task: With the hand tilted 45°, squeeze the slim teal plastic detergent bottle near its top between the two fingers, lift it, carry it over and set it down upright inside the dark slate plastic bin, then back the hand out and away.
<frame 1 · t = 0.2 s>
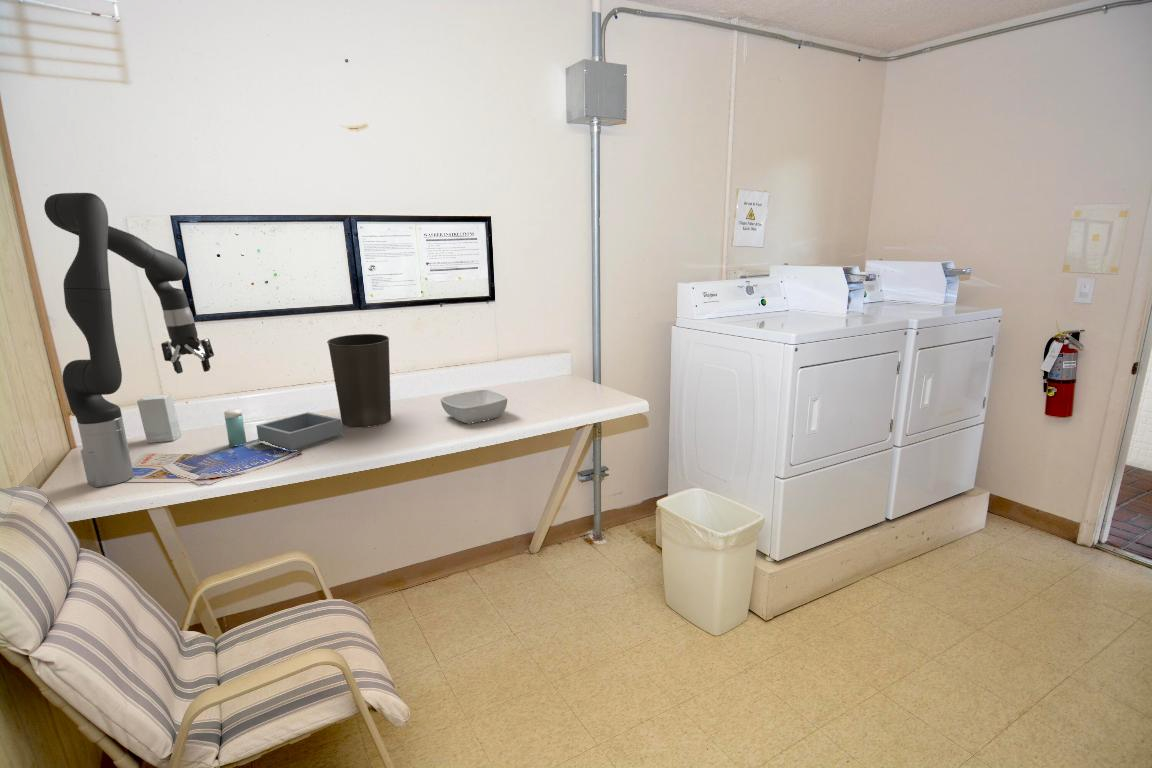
hand: (193, 372, 187), 23 cm above the table, tool pointing down, fingers open, 8 cm apart
skincare box: (163, 440, 191), on the table
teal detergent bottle: (238, 444, 185), on the table
slate bin: (301, 439, 189), on the table
square bowl: (474, 418, 211), on the table
waste basket: (367, 421, 209), on the table
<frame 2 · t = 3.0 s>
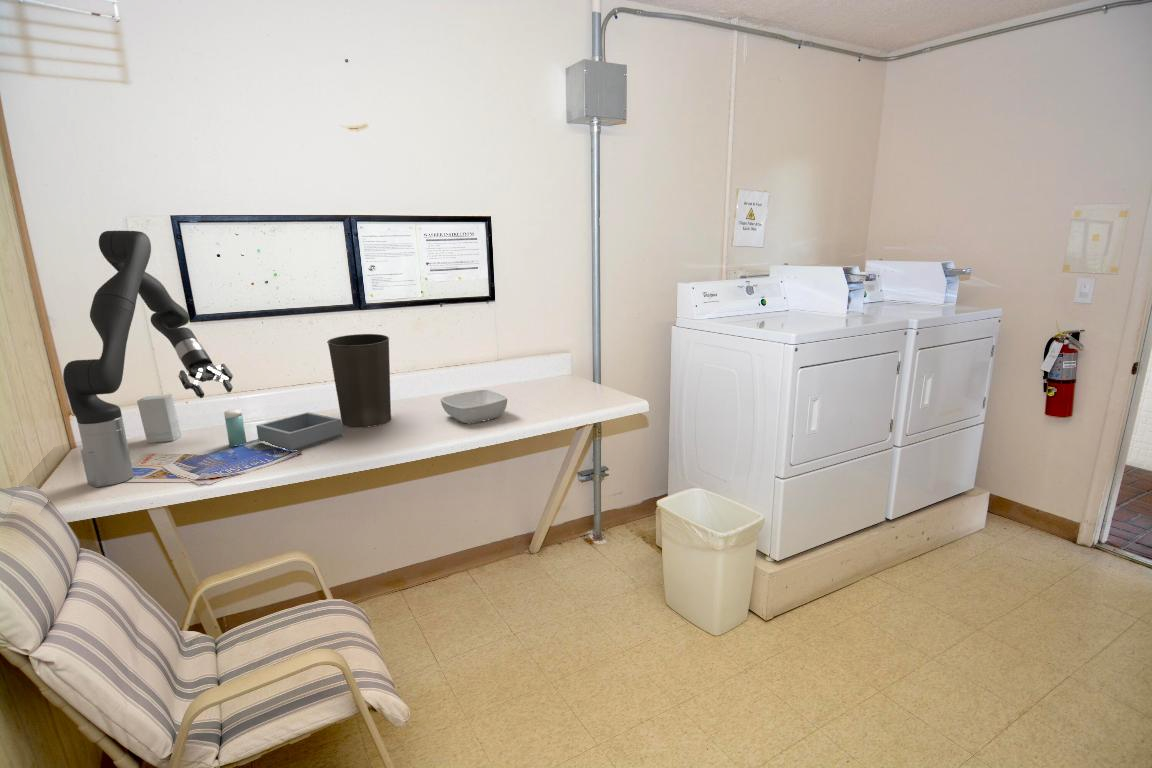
hand: (216, 393, 186), 16 cm above the table, tool tilted 45°, fingers open, 8 cm apart
nothing on the table moved.
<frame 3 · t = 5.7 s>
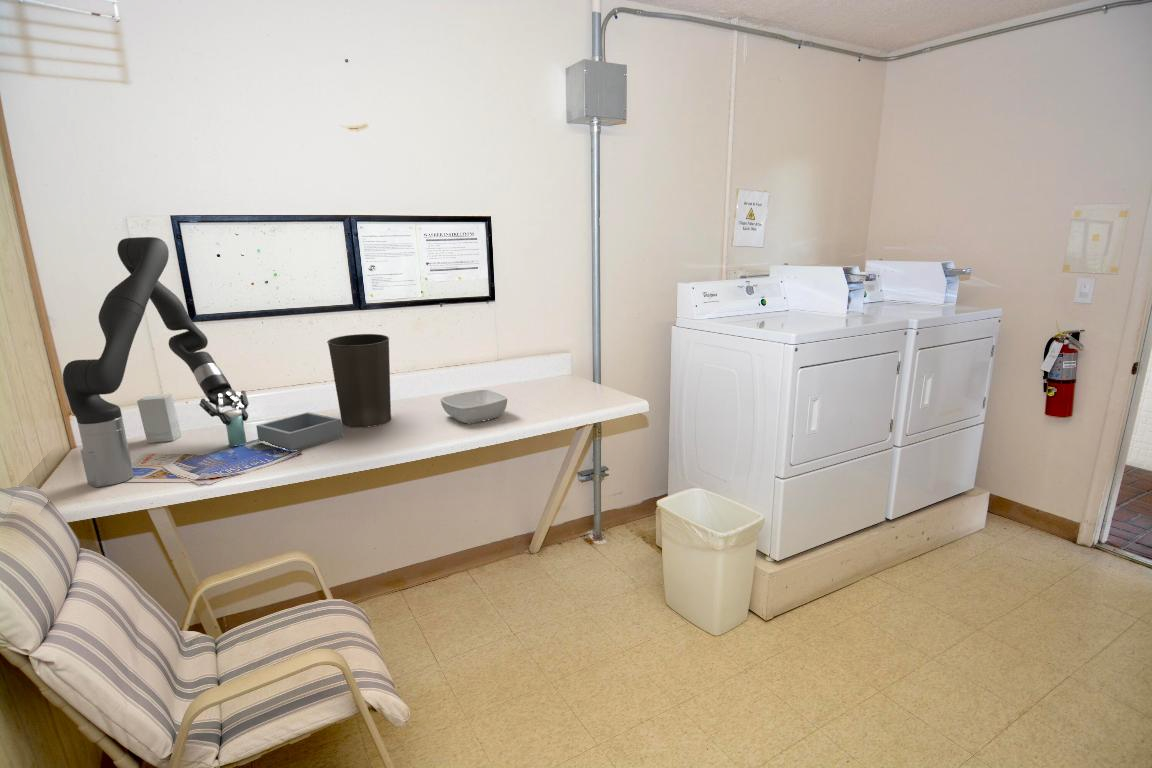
hand: (237, 421, 183), 8 cm above the table, tool tilted 45°, fingers closed on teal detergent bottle, 4 cm apart
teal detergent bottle: (238, 444, 185), on the table, touching gripper
everything else where it was.
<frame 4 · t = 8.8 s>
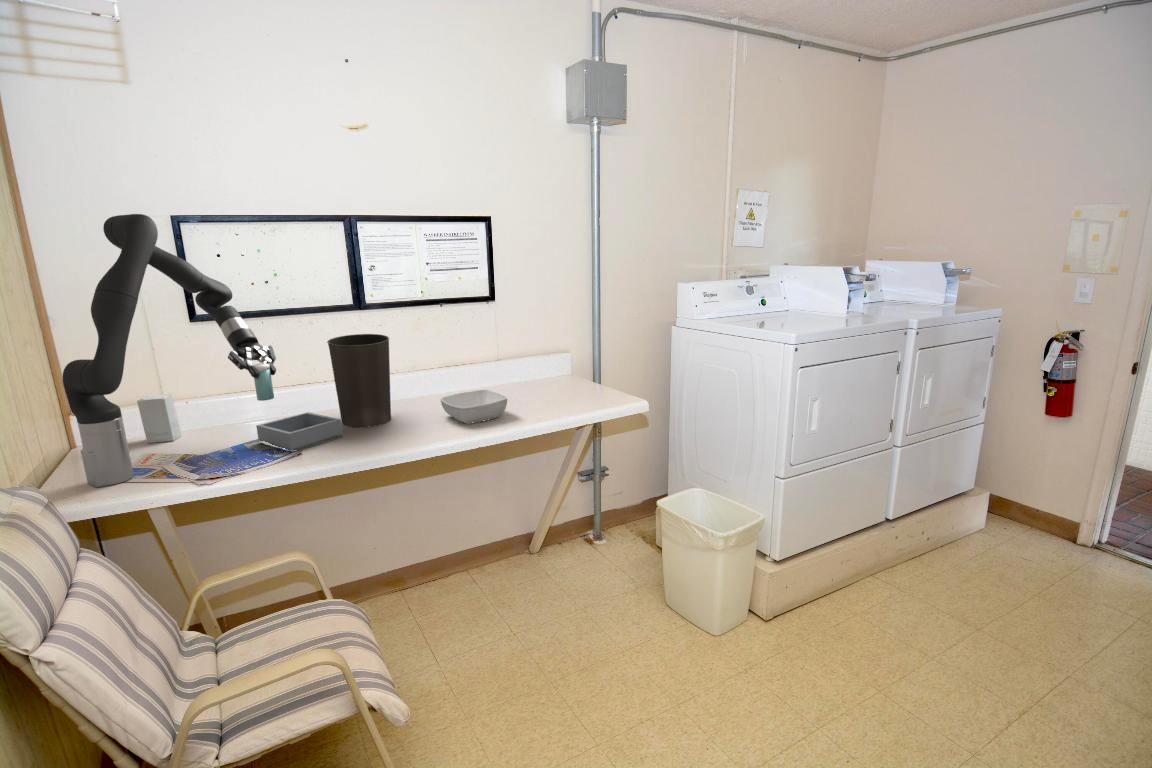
hand: (265, 374, 182), 22 cm above the table, tool tilted 45°, fingers closed on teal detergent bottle, 4 cm apart
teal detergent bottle: (265, 398, 185), point 14 cm above the table, touching gripper
everything else where it was.
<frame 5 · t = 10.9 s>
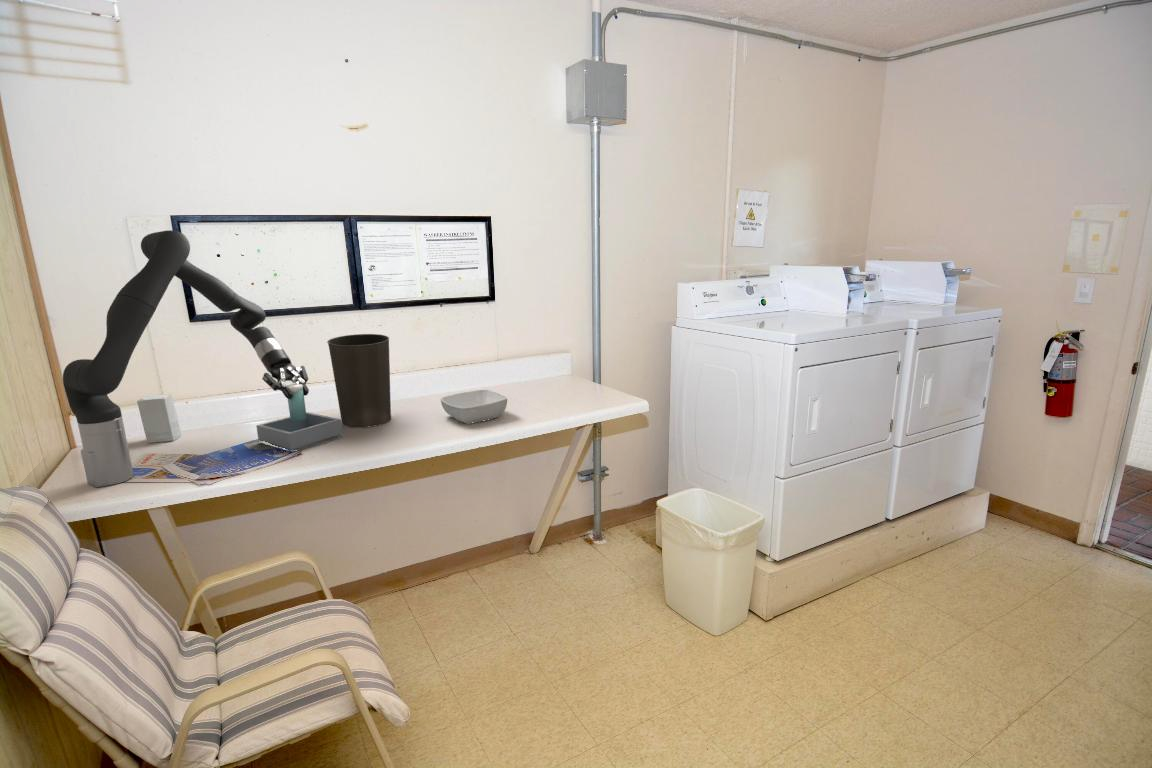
hand: (299, 395, 184), 15 cm above the table, tool tilted 45°, fingers closed on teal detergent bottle, 4 cm apart
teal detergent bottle: (298, 418, 187), point 7 cm above the table, touching gripper
everything else where it was.
when the fingers open (10 cm above the table, at t = 12.2 s): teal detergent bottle drops 1 cm, resting on slate bin.
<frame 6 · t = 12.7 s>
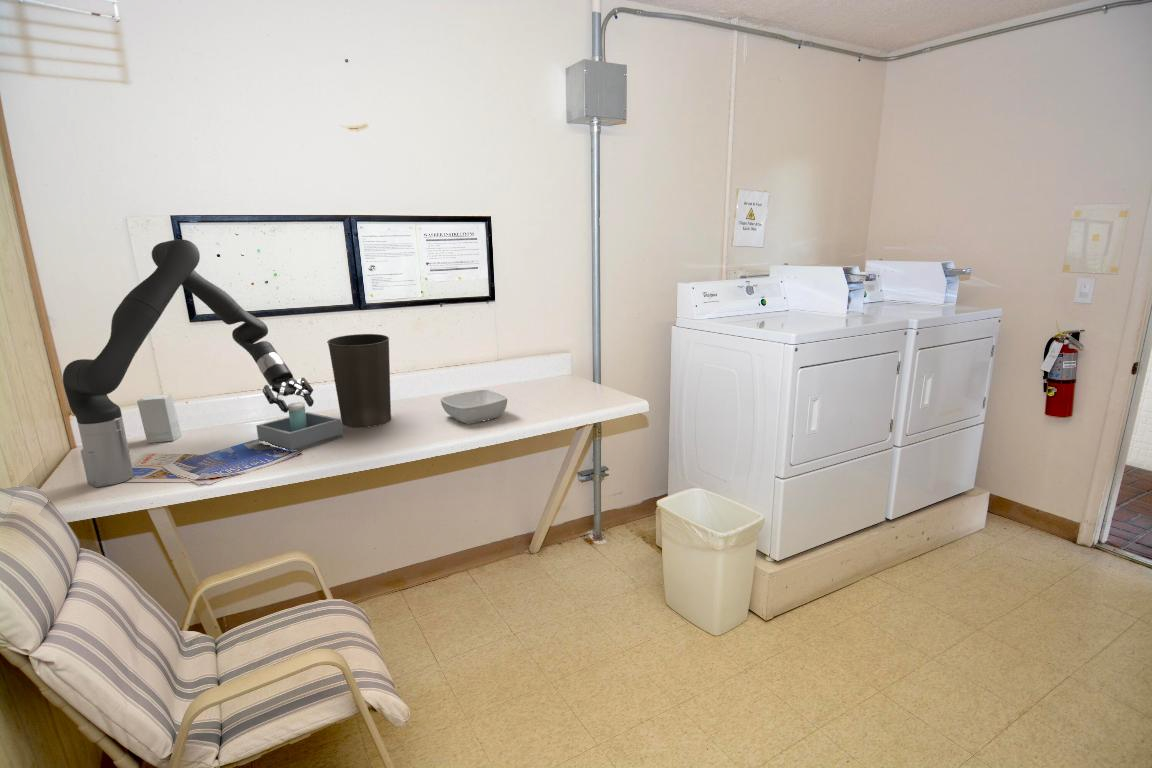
hand: (299, 408, 186), 11 cm above the table, tool tilted 45°, fingers open, 8 cm apart
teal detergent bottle: (300, 437, 188), point 1 cm above the table, touching slate bin
everything else where it was.
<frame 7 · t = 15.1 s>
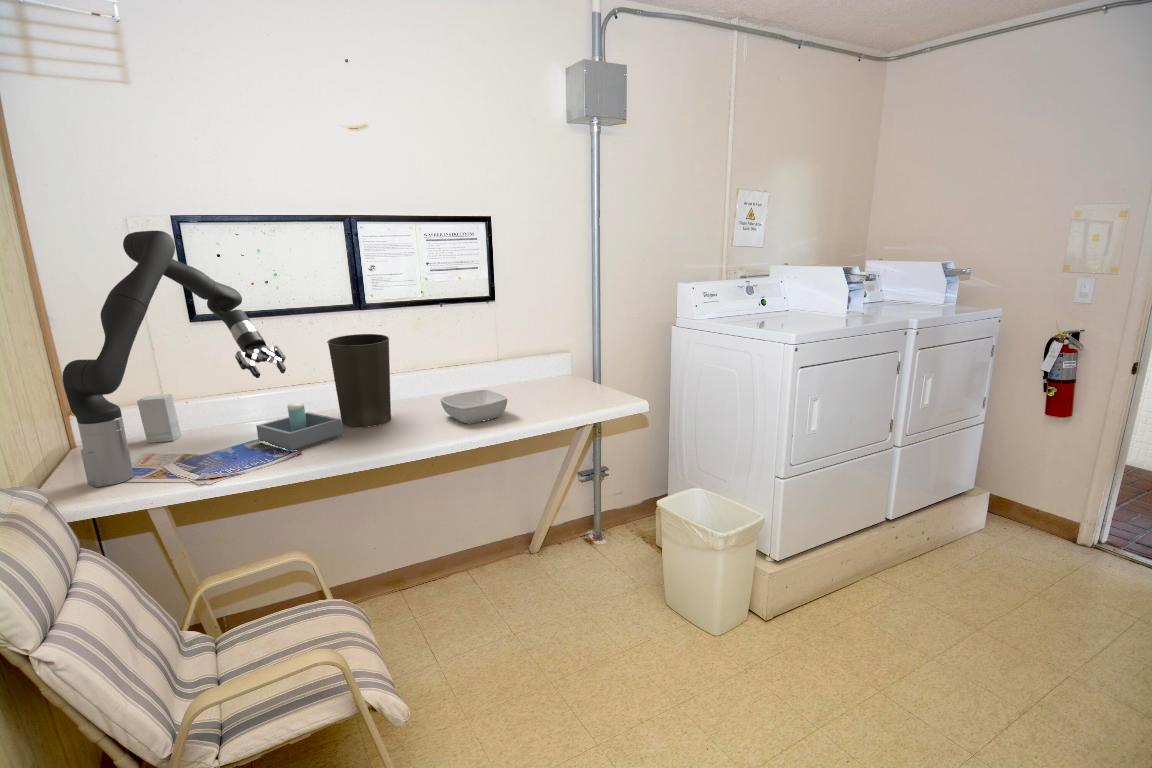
hand: (271, 374, 190), 21 cm above the table, tool tilted 45°, fingers open, 8 cm apart
nothing on the table moved.
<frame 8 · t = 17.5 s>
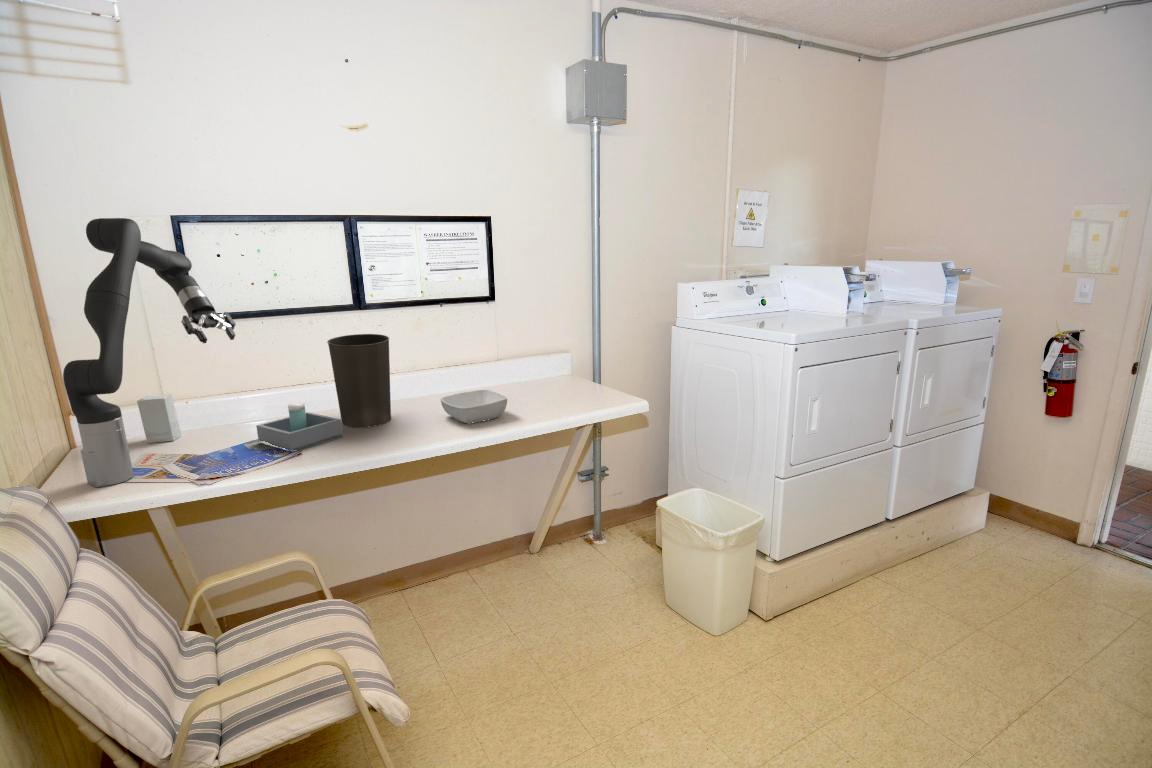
hand: (219, 339, 186), 33 cm above the table, tool tilted 45°, fingers open, 8 cm apart
nothing on the table moved.
at the end: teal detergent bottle inside the target area on the slate bin (0.3 cm from its centre), point 1.0 cm above the slate bin's base; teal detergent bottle tilted 0°; the gripper is holding nothing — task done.
